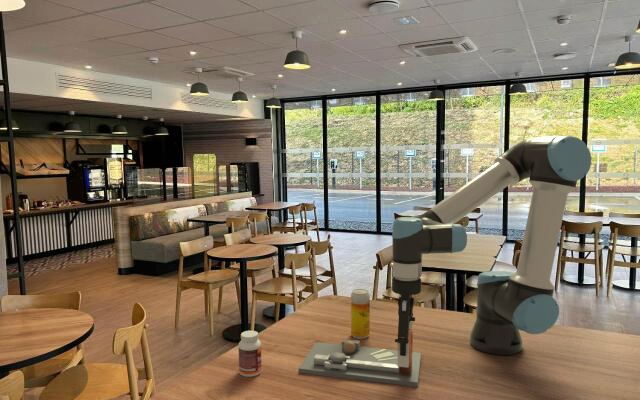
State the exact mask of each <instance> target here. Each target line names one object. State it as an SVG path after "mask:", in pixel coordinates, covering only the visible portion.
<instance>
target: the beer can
mask: <svg viewBox="0 0 640 400" xmlns="http://www.w3.org/2000/svg"><path fill="white" fill-rule="evenodd" d="M370 295H371V294H370V293H369V290H367V289H364V288H363V289H362V288H357V289H356V288H355V289H353V290H352V291H351V294H350V334H351V336H352V338H354V339H357V340H364V339H367V338H368V337H369V335H370V330H371V329H370V327H371V326H370V325H371V323H370V321H371V319H370V317H371V315H370V314H371V312H370V311H371V310H370V309H371V308H370V306H371V305H370V303H371V301H370V298H371V296H370Z"/></svg>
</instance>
